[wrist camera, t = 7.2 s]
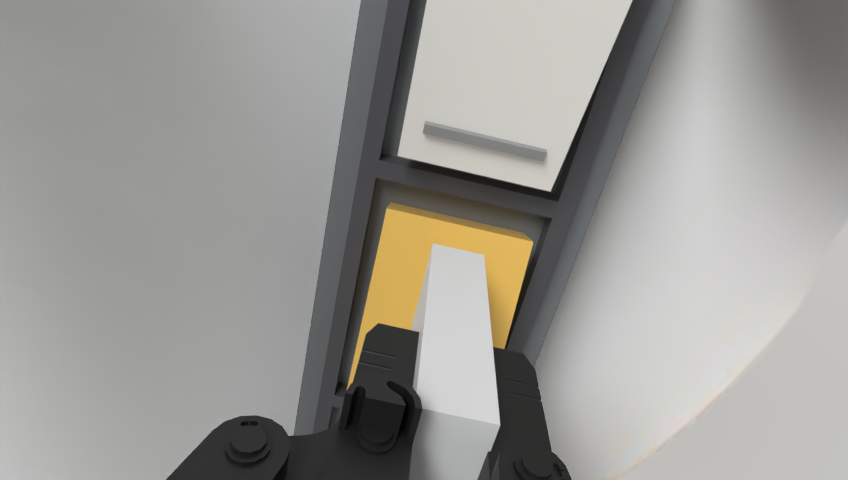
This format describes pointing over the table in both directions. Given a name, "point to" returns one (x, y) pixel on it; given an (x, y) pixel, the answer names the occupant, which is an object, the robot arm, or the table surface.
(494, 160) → the block
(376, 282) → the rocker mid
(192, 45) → the table surface
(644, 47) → the power strip
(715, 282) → the table surface
